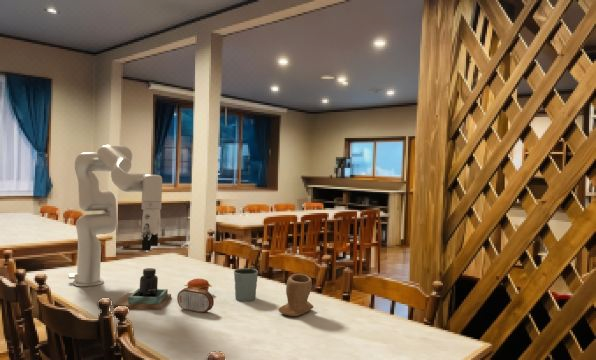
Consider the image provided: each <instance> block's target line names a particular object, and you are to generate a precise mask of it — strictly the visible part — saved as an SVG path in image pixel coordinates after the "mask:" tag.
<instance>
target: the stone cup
mask: <svg viewBox="0 0 596 360" xmlns="http://www.w3.org/2000/svg"><path fill="white" fill-rule="evenodd" d="M287 278H288V279H287V280H286V287H285V293H286V298H287V303H286V304H284V305H282V306H280V307H279V308H278V309H277V310H278V312H279V313H280V314H283V315H286V316H289V317H299V316H301V315H303V314H305V313H307V312H309V311H310V310H312V309H314V305H313V304H312V303H311V302H310V301H308V299H309V296H310V295H311V294H310V293H311V291H312V287H313V280H312V278H311V277H310V276H309V275H308V274H307V275H306V274H304V273H294V274H291V275H289V276H288V277H287Z"/></svg>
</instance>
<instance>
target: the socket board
mask: <svg viewBox="0 0 596 360" xmlns="http://www.w3.org/2000/svg"><path fill="white" fill-rule="evenodd" d="M139 290H140V287H139V288H137V289H136V290H135V291H134V292H127V293H125V294H124V295H123V296H122V297H120V298H119V299H118V300H117V301H116V302H114V303H113V304H112V309H113V308H116V307H118V306H126V307H128V308H129V309H128V310H152V311H153V310H156V311H161V310H162V309H163V308H164V306H165V305H166V304H167V303H168V302H169V300H170V299H171V298H172V293H169V292H168V291H169V290H168V288H167V289H166V288H157V297H139Z"/></svg>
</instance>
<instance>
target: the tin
mask: <svg viewBox="0 0 596 360" xmlns="http://www.w3.org/2000/svg"><path fill="white" fill-rule="evenodd" d="M176 299H177V300H176V301H177V304H178V306H179V307H180V308H181V309H182V310H185V311H190V312H195V313H201V314H204V313H206V312H209V311H210V310H211V309H213V307H214V304H215V303H214V302H215V300H214V297H213V295H212V293H210V292H209V290H208V291H206V290H201V289H195V288H189V287H188V286H186V287H184V288H182V289H181V290H180V291H178V293H177V298H176Z"/></svg>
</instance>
